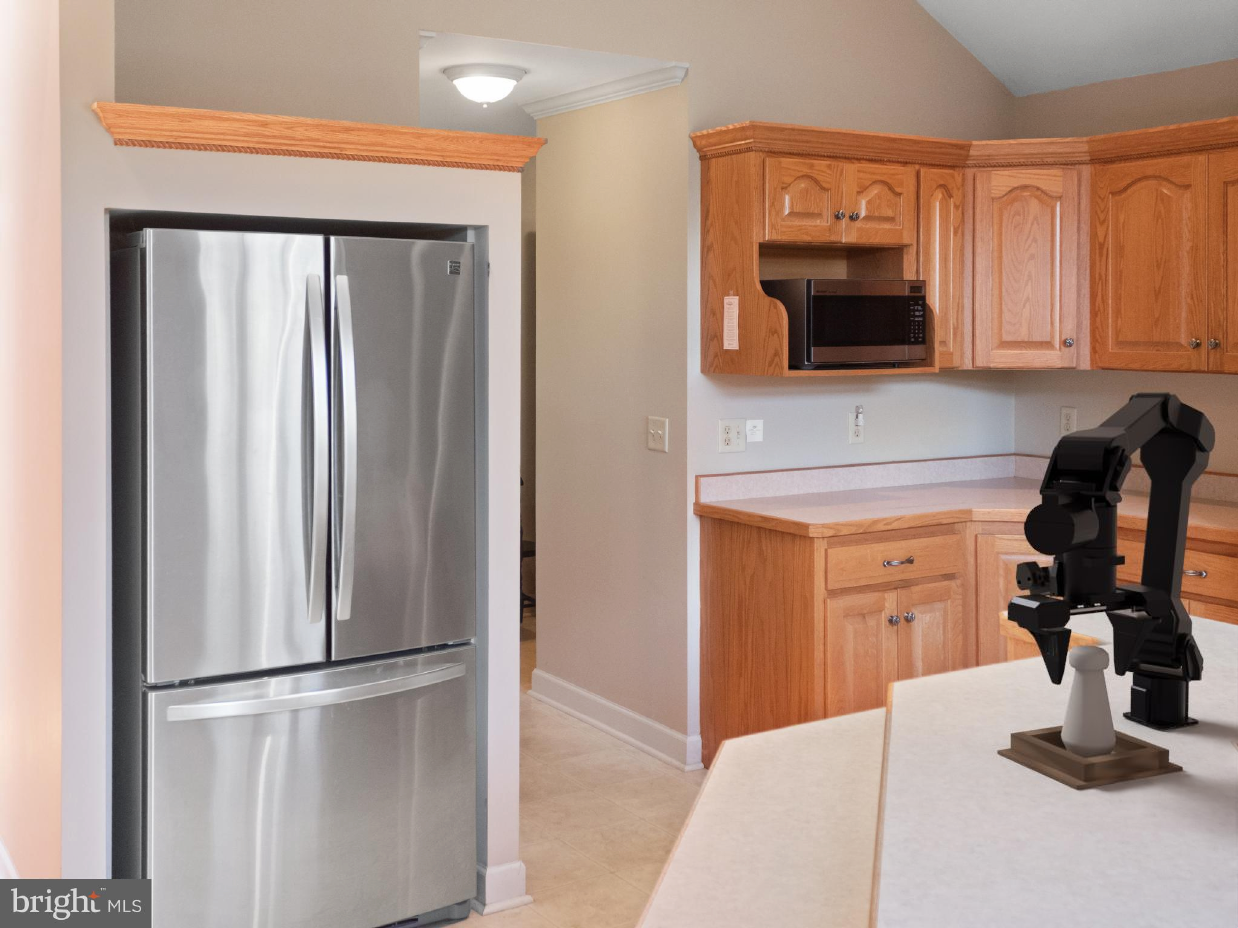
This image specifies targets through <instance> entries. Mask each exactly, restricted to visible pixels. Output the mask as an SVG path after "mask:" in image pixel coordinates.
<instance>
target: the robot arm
mask: <svg viewBox="0 0 1238 928" xmlns="http://www.w3.org/2000/svg"><path fill="white" fill-rule="evenodd" d="M1215 442H1216V432H1215V427H1214V425H1213V424H1212V423H1211V421H1210V420H1209V418H1208V417H1207V415H1206V414H1205V413H1204V412H1203V411H1201V410H1199V409H1196V408H1194V407H1192V406H1190V405H1189V404H1186V403H1184V402H1182V401H1181V399H1180V398H1179V397H1178V396H1177V395H1176V394H1175V393H1171V392H1169V391H1155V392H1154V391H1152V392H1151V391H1146V392H1145V391H1143V392H1142V391H1141V392H1137V393H1134V394H1131V396H1130V397H1129V400H1128V402H1127V403H1125V404H1124V405H1123V406H1121V408H1119V409H1118V410H1116V411H1115V412H1114V413H1112V414H1111V415H1110V416H1109V417H1107V419H1105V420H1104V421H1103V422H1102V423H1100V424H1099V425H1098V426H1096V427H1092V428H1089V429H1083V430H1075V431H1073V432H1070V433H1068V434H1065V435H1063V436H1062V437H1061V438H1060V439H1059V440H1058V442H1057V444H1056V445H1055V446H1054V447H1053V450H1052V452H1051V454H1050V458H1049V461H1048V464H1047V467H1046V471H1045V473H1044V476H1043V479H1042V483H1041V485H1040V488H1039V493H1038V494H1039V495H1040V496H1041V503H1040V504H1037V505H1036V506H1034V507H1033V508H1032V509H1031V510H1029V513H1028V514H1027V515H1026V517H1025V518H1026V519H1025V521H1024V522H1023V531H1024V537H1025V539H1026V541H1027V543H1028V544H1029V545H1030V547H1031V548H1032V549H1033V550H1034V551H1036V552H1038V553H1039V554H1041V555H1043V556H1044V555H1045V556H1053V557H1052V559H1053V560H1052V561H1053V562H1052V564H1051V565H1048V566H1040V564H1038V562H1037V561H1036V560H1035V561H1024V562H1021V563H1017V564H1016V572H1015V582H1016V585H1017V588H1018V589H1019V590H1020V591H1029V592H1028V593H1029V594H1022V595H1014V596H1013V597H1012V598H1011V599H1010V600H1009V601H1008V604H1007V621H1011V622H1014V623H1016V624H1017V626H1018V628H1021V629H1024V630H1027V632H1029V634H1030V635H1031V636H1032V637H1033V639H1034V641H1035V643H1036V645H1037V646H1038V650H1039V652H1040V655H1041V657H1042V660H1043V663H1044V665H1045V667H1046V671H1047V674H1048V676H1049V678H1050V681H1051V683H1052V684H1053V685H1057V686H1059V685H1060V686H1061V684H1062V681H1063V678H1064V675H1065V671H1066V663H1067V659H1068V655H1069V647H1070V642H1071V637H1072V631H1073V630H1072V628H1068V627H1066V626H1067V625H1068V623H1069V622H1070V620H1071V617H1073V616H1083V615H1089V614H1091V615H1092V614H1098V613H1100V614H1101V613H1105V615H1106V617H1107V619H1108V621H1109V623H1110V624H1111V626H1112V633H1113V635H1112V639H1113V640H1112V642H1113V647H1112V649H1113V650H1112V651H1113V666H1114V674H1115V675H1116V676H1120V677H1124V676H1125V675H1126V673H1127V672H1128V673H1132V685H1131V686H1130V704H1129V705H1130V707H1129V708H1130V711H1126V712H1122V717H1123V718H1125V719H1128V720H1132V721H1134V722H1136V723H1140V724H1142V725H1146V726H1147V727H1151V728H1154V729H1157V730H1169V729H1174V728H1175V729H1176V728H1180V727H1181V728H1182V727H1188V726H1193V725H1198V724H1199V719H1197V718H1195V717H1192V716H1189V703H1190V702H1189V699H1190V698H1189V696H1190V694H1189V692H1190V689H1189V688H1190V682H1197V681H1202V676H1203V671H1204V657H1203V655H1202V653H1201V651H1200V649H1199V646H1198V643H1197V642H1196V640H1195V637H1194V635H1193V634H1192V633H1193V621H1192V619H1191V617H1190V614H1189V613H1188V611H1187V609H1186V607H1185V605H1184V603H1183V601H1182V600H1181V599H1182V598H1181V597H1182V595H1181V593H1182V585H1183V575H1184V566H1185V554H1186V544H1187V534H1188V526H1189V525H1188V524H1189V515H1190V505H1191V495H1192V487H1193V485H1195V483H1196V482H1197V481H1198V479H1199V478H1200V477H1201V476H1202V474H1203V473H1204V472H1205V471H1206V469H1207V468H1208V466H1209V459H1210V457H1211V454H1210V453H1211V452H1213V450H1214V447H1215V444H1216V443H1215ZM1138 450H1139V461H1140V463H1141V465H1142V466H1143V468H1144V470H1145V472H1146V474H1147V476H1148V479H1149V480H1150V489H1149V499H1148V500H1149V501H1148V508H1147V509H1148V510H1147V518H1146V519H1147V520H1146V525H1145V526H1146V528H1145V537H1144V548H1143V558H1142V565H1141V577H1140V584H1137V583H1129V584H1121V585H1117V568H1118V567H1117V566H1124V565H1126V555H1123V554H1118V504H1119V503H1122V502H1123V497H1122V495H1121V494H1120V492H1121V489H1122V487H1123V485H1124V483H1125V480H1126V478H1127V476H1128V474H1129V473H1130V472H1131V471H1132V461H1133V459H1132V457H1131V456H1132V455H1133V454H1135V452H1136V451H1138ZM1061 598H1062V599H1061Z"/></svg>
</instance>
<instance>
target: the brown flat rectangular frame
mask: <svg viewBox="0 0 1238 928" xmlns="http://www.w3.org/2000/svg"><path fill="white" fill-rule="evenodd" d="M1062 728H1063V724H1062V725H1057V726H1051V727H1044V728H1038V729H1030V730H1026V731H1025V730H1024V731H1018V732H1012V733H1010V748H1004V749H997V752H996V753H997V754H998V755H1000V756H1001V757H1004V758H1007V759H1009V760H1011V761H1013V762H1016V763H1018V764H1020V765H1022V766H1024V767H1025V768H1027V769H1031V770H1032V771H1035V772H1037V773H1040V774H1042V775H1043V776H1046V777H1048V778H1050V779H1053V780H1055V781H1057V782H1059V783H1061V784H1064V785H1066V786H1069V787H1070V788H1073V789H1074V790H1082V789H1086V788H1091V787H1097V786H1103V785H1108V784H1114V783H1120V782H1125V781H1126V782H1127V781H1132V780H1136V779H1142V778H1148V777H1153V776H1158V775H1163V774H1170V773H1176V772H1181V771H1183V770H1184V767H1183V766H1182V765H1179V764H1177V763H1174V762H1171V761H1170V749H1168V748H1165V747H1163V746H1160V745H1157V744H1155V743H1151V742H1148V741H1146V740H1143V739H1141V738H1139V737H1135V736H1133V735H1130V734H1127V733H1125V732H1121V731H1118V730H1116V729H1114V732H1115V738H1116V742H1115V746H1114V748H1113V750H1112V752H1111V754H1109V755H1103V756H1097V757H1091V758H1083V757H1081V756H1078V755H1076V754H1073V753H1071V752H1069V751H1067V750H1066V747H1065V745H1064V743H1063V741H1062V737H1061V733H1062Z"/></svg>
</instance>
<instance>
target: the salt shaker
mask: <svg viewBox="0 0 1238 928" xmlns="http://www.w3.org/2000/svg"><path fill="white" fill-rule="evenodd" d="M1068 664H1069V665H1070V667H1071V668H1073V669H1074V673H1073V674H1074V675H1073V679H1072V683H1071V687H1070V692H1069V695H1068V696H1069V697H1068V702H1067V705H1066V712H1065V715H1064V720H1063V724H1062V725H1063V728H1062V733H1061V737H1062V741H1063V743H1064V745H1065V747H1066V750H1067V751H1069V752H1071V753H1073V754H1076V755H1078V756H1081V757H1083V758H1091V757H1097V756H1103V755H1109V754H1111V752H1112V750H1113V748H1114V746H1115V742H1116V738H1115V732H1114V730H1115V728H1114V722H1113V715H1112V711H1111V706H1110V705H1111V704H1110V701H1109V699H1110V698H1109V694H1108V688H1107V682H1106V677H1105V672H1104V671H1105V670H1107V669H1108V668H1109V666H1110V655H1109V652H1108V651H1106V649H1104V648H1103V647H1100V646H1096V645H1087V644H1085V645H1076V646H1073V647H1072V648H1071V649H1070V650H1069V651H1068Z"/></svg>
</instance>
